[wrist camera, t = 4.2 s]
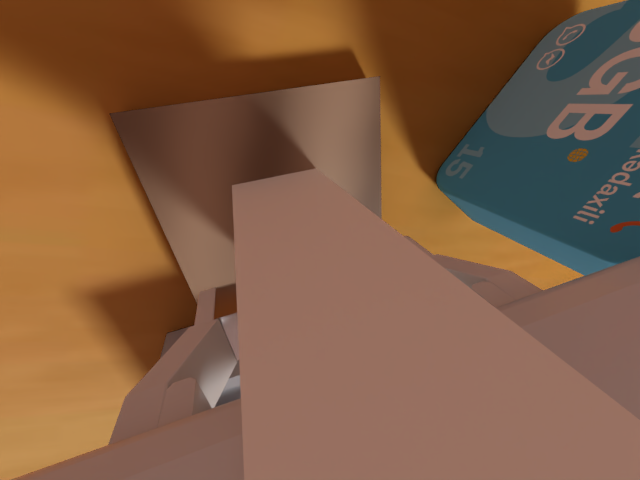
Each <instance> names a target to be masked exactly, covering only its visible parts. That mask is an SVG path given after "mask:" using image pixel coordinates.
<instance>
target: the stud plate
mask: <svg viewBox="0 0 640 480" xmlns="http://www.w3.org/2000/svg"><path fill="white" fill-rule="evenodd" d="M109 114H110V116H111V118H112V120H113V123H114V125H115V127H116V129H117V131H118V133H119V136H120V138H121V140H122V142H123V144H124V146H125V149H126V151H127V153H128V155H129V157H130V159H131V162H132V164H133V166H134V168H135V170H136V172H137V175H138V177H139V179H140V181H141V183H142V185H143V188H144V190H145V192H146V194H147V196H148V198H149V201H150V203H151V205H152V207H153V209H154V211H155V214H156V216H157V218H158V220H159V222H160V224H161V227H162V229H163V231H164V233H165V235H166V237H167V240H168V242H169V244H170V246H171V248H172V250H173V253H174V255H175V257H176V259H177V261H178V263H179V266H180V268H181V270H182V272H183V274H184V276H185V279H186V281H187V283H188V285H189V287H190V289H191V292H192V294H193V296H194V298H195V300H196V303H197V305H198V298H199V293H200V292H201V291H203V290H207V289H211V288H214V287H218V286H222V285H226V284H230V283H234V282H236V271H235V248H234V224H233V200H232V185H236V184H241V183H246V182H251V181H256V180H261V179H266V178H270V177H275V176H280V175H285V174H290V173H295V172H300V171H305V170H310V169H315V168H316V169H317V170H319V171H320V172H321V173H323V174H324V175H325V176H326V177H328V178H329V179H330V180H332V181H333V182H334V183H335V184H337V185H338V186H339V187H341V188H342V189H343V190H344V191H346V192H347V193H348V194H350V195H351V196H352V197H353V198H355V199H356V200H357V201H359V202H360V203H361V204H362V205H364V206H365V207H366V208H368V209H369V210H370V211H371V212H373V213H374V214H375V215H377V216H378V217H379V218H381V133H380V76H378V77H371V78H364V79H356V80H349V81H342V82H334V83H327V84H320V85H313V86H305V87H298V88H291V89H284V90H276V91H269V92H262V93H255V94H247V95H240V96H233V97H226V98H218V99H211V100H204V101H197V102H189V103H182V104H175V105H168V106H160V107H153V108H146V109H139V110H131V111H124V112H117V113H109Z"/></svg>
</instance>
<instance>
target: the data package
mask: <svg viewBox="0 0 640 480" xmlns="http://www.w3.org/2000/svg"><path fill="white" fill-rule="evenodd" d="M437 186H438V188H439V189H440V190H441V191H442V192H443V193H444V194H445V195H446V196H447V197H448V198H449V199H450V200H452V201H453V202H454V203H455V204H456V205H457V206H458V207H459V208H460V209H461V210H462V211H463V212H464V213H465V214H466V215H467V216H468V217H470V218H471V219H472V220H473V221H475V222H477V223H479V224H481V225H483V226H485V227H487V228H489V229H491V230H493V231H496V232H498V233H500V234H502V235H504V236H506V237H508V238H510V239H512V240H514V241H516V242H518V243H520V244H522V245H524V246H526V247H528V248H530V249H532V250H534V251H536V252H538V253H540V254H542V255H544V256H546V257H548V258H550V259H552V260H554V261H556V262H558V263H561V264H563V265H565V266H567V267H569V268H571V269H573V270H575V271H577V272H579V273H581V274H583V275H585V276H586V275H588V274H591V273H594V272H597V271H600V270H603V269H605V268H608V267H611V266H614V265H617V264H619V263H622V262H625V261H628V260H631V259H634V258H636V257H639V256H640V0H627V1H623V2H619V3H615V4H611V5H607V6H603V7H599V8H595V9H591V10H588V11H584V12H582V13H579V14H577V15H575V16H573V17H571V18H569V19H567V20H566V21H564V22H562V23H561V24H559V25H558V26H557V27H555V28H554V29H553V30H551V31H550V32H549V33H548V34H547V35H546V36H545V37H544V38H543V39H542V40H541V41H540V42H539V44H538V45H537V46H536V47H535V49H534V50H533V51H532V52H531V54H530V55H529V56H528V57H527V59H526V60H525V61H524V62H523V64H522V65H521V66H520V67H519V69H518V70H517V71H516V73H515V74H514V75H513V76H512V78H511V79H510V80H509V81H508V83H507V84H506V85H505V86H504V88H503V89H502V90H501V91H500V93H499V94H498V95H497V96H496V98H495V99H494V100H493V101H492V103H491V104H490V105H489V106H488V108H487V109H486V110H485V112H484V113H483V114H482V115H481V117H480V118H479V119H478V120H477V122H476V123H475V124H474V125H473V127H472V128H471V129H470V130H469V132H468V133H467V134H466V135H465V137H464V138H463V139H462V140H461V142H460V143H459V144H458V145H457V147H456V148H455V149H454V151H453V152H452V153H451V154H450V156H449V157H448V158H447V159H446V161H445V162H444V163H443V164H442V166H441V167H440V169H439V171H438V174H437Z"/></svg>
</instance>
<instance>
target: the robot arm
mask: <svg viewBox="0 0 640 480" xmlns="http://www.w3.org/2000/svg"><path fill="white" fill-rule="evenodd" d="M404 237H405V238H406V239H408V240H409V241H410V242H411V243H413V244H414V245H415V246H417V247H418V248H419V249H420V250H422V251H423V252H424V253H426V254H427V255H428V256H429V257H431V258H432V259H433V260H435V261H436V262H437V263H438V264H440V265H441V266H442V267H444V268H445V269H446V270H447V271H449V272H450V273H451V274H453V275H454V276H455V277H456V278H458V279H459V280H460V281H462V282H463V283H464V284H465V285H467V286H468V287H469V288H471V289H472V290H473V291H474V292H476V293H477V294H478V295H480V296H481V297H482V298H483V299H485V300H486V301H487V302H489V303H490V304H491V305H492V306H494V307H495V308H496V309H498V310H499V311H500V312H501V313H503V314H504V315H505V316H507V317H508V318H509V319H511V320H512V321H513V322H514V323H516V324H517V325H518V326H520V327H521V328H522V329H523V330H525V331H526V332H527V333H529V334H530V335H531V336H532V337H534V338H535V339H536V340H538V341H539V342H540V343H541V344H543V345H544V346H545V347H547V348H548V349H549V350H550V351H552V352H553V353H554V354H556V355H557V356H558V357H559V358H561V359H562V360H563V361H565V362H566V363H567V364H568V365H570V366H571V367H572V368H574V369H575V370H576V371H577V372H579V373H580V374H581V375H583V376H584V377H585V378H586V379H588V380H589V381H590V382H592V383H593V384H594V385H595V386H597V387H598V388H599V389H601V390H602V391H603V392H604V393H606V394H607V395H608V396H610V397H611V398H612V399H613V400H615V401H616V402H617V403H619V404H620V405H621V406H622V407H624V408H625V409H626V410H628V411H629V412H630V413H632V414H633V415H634V416H635V417H637V418H638V419H639V420H640V256H639V257H636V258H634V259H631V260H628V261H625V262H622V263H619V264H617V265H614V266H611V267H608V268H605V269H603V270H600V271H597V272H594V273H591V274H588V275H586V276H583V277H580V278H577V279H574V280H572V281H569V282H566V283H563V284H560V285H558V286H555V287H552V288H549V289H546V290H541V289H540V288H538V287H536V286H535V285H533V284H531V283H530V282H528V281H526V280H525V279H523V278H521V277H520V276H518V275H517V274H515V273H513V272H512V271H508V270H504V269H499V268H495V267H491V266H486V265H482V264H478V263H473V262H469V261H465V260H460V259H456V258H452V257H447V256H443V255H439V254H437V255H433V254H431V253H430V252H429V251H427V250H426V249H425V248H423V247H422V246H421V245H419V244H418V243H417V242H415V241H414V240H413V239H411V238H410V237H409V236H404ZM237 360H239V342H238V319H237V295H236V282H234V283H230V284H226V285H222V286H218V287H214V288H211V289H207V290H203V291H201V292H200V293H199V298H198V305H197V311H196V317H195V323H194V326H191V327H189V328H188V329H187V330H186V331H185V332H184V333H183V335H182V336H181V337H180V338H179V339H178V340H177V341H176V342H175V343H174V344H173V345H172V347H171V348H170V349H169V350H168V351H167V352H166V353H165V354H164V355H163V356H162V357H161V359H160V360H159V361H158V362H157V363H156V364H155V365H154V366H153V367H152V368H151V369H150V371H149V372H148V373H147V374H146V375H145V376H144V377H143V378H142V379H141V380H140V382H139V383H138V384H137V385H136V386H135V387H134V388H133V389H132V390H131V391H130V392H129V394H128V395H127V396H126V397H125V399H124V402H123V405H122V408H121V411H120V413H119V416H118V419H117V422H116V425H115V428H114V430H113V433H112V436H111V439H110V442H109V444H108V445H107V446H104V447H102V448H99V449H96V450H93V451H90V452H88V453H85V454H82V455H79V456H76V457H73V458H71V459H68V460H65V461H62V462H59V463H57V464H54V465H51V466H48V467H45V468H42V469H40V470H37V471H34V472H31V473H28V474H26V475H23V476H20V477H17V478H14V479H11V480H244V461H243V437H242V414H241V398H240V399H237V400H234V401H231V402H228V403H226V404H223V405H220V406H217V407H215V405H216V403H217V401H218V399H219V397H220V395H221V393H222V391H223V389H224V387H225V385H226V383H227V381H228V379H229V377H230V375H231V373H232V371H233V369H234V367H235V365H236V363H237Z"/></svg>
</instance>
